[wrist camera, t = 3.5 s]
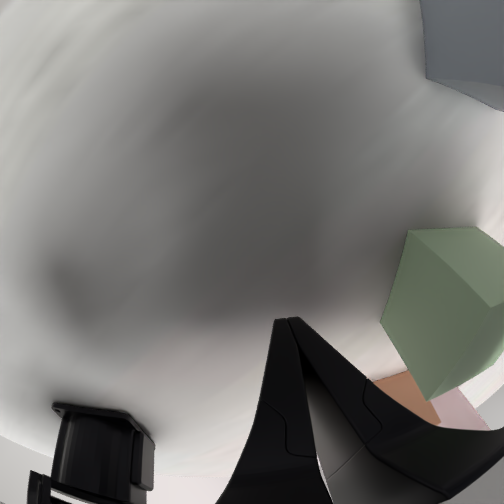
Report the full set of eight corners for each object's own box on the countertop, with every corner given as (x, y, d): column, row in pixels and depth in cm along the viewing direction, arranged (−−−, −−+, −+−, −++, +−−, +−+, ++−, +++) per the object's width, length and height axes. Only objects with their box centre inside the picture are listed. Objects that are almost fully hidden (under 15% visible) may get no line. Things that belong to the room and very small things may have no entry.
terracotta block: (334, 418, 18) (352, 471, 13) (351, 386, 15) (377, 451, 11) (388, 402, 18) (409, 449, 14) (411, 368, 16) (441, 422, 11)
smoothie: (445, 377, 18) (502, 488, 6) (471, 371, 20) (522, 461, 8) (404, 415, 21) (446, 517, 9) (436, 406, 23) (476, 492, 11)
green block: (379, 321, 12) (426, 402, 8) (407, 229, 10) (490, 307, 5) (446, 304, 13) (493, 364, 8) (475, 226, 10) (543, 281, 6)
